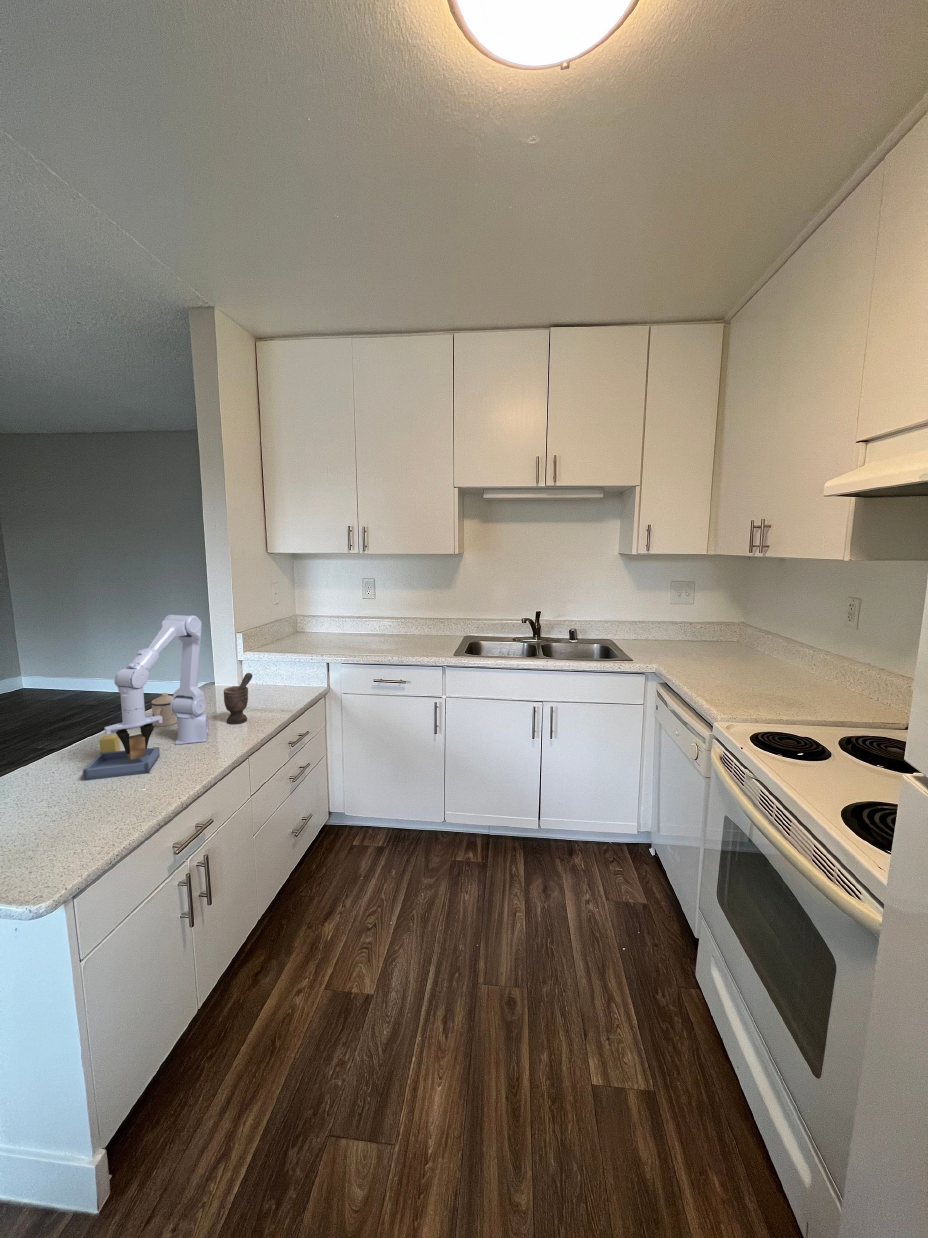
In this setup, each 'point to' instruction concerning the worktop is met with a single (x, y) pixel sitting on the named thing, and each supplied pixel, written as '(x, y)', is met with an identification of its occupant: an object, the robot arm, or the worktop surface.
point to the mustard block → (109, 743)
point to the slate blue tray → (120, 764)
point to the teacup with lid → (164, 710)
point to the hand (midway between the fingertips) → (136, 750)
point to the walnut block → (137, 746)
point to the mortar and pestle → (237, 700)
